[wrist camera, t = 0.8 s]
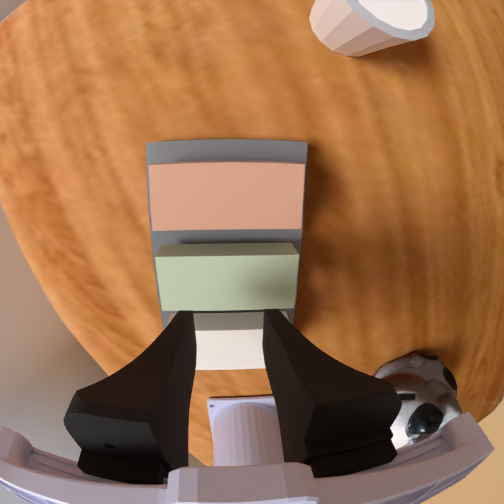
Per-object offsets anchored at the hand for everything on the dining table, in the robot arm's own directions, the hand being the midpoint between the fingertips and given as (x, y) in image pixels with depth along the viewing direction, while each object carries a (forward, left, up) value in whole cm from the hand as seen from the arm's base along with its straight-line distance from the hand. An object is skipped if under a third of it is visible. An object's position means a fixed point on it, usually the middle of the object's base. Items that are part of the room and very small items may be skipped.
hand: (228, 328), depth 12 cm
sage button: (0, 0, -6) cm, 6 cm away
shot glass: (+18, -9, -10) cm, 22 cm away
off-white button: (-5, 0, -6) cm, 8 cm away
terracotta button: (+5, 0, -6) cm, 8 cm away
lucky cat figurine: (-18, -19, -10) cm, 28 cm away
